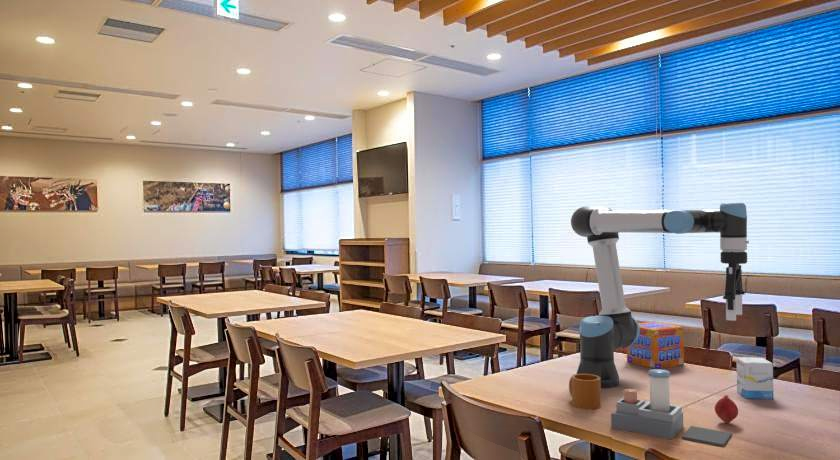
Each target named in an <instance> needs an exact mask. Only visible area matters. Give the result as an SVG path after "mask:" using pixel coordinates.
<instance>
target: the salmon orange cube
mask: <svg viewBox="0 0 840 460" xmlns="http://www.w3.org/2000/svg"><path fill="white" fill-rule="evenodd" d="M623 397H624V403H630V404H637V399H638V390H637V389H634V388H625V389H623Z"/></svg>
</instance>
